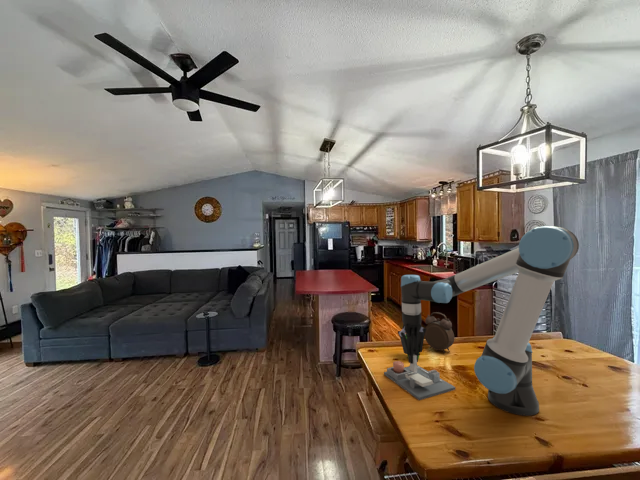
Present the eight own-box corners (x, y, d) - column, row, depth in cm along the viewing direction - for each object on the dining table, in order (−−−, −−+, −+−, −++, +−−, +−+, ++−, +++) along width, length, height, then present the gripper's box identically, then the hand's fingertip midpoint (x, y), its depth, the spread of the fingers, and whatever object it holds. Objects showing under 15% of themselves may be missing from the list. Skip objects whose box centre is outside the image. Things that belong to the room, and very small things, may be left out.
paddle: (432, 384, 110) (432, 380, 110) (422, 386, 108) (422, 383, 108) (415, 374, 119) (414, 371, 119) (405, 377, 117) (405, 373, 117)
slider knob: (439, 381, 116) (439, 371, 116) (434, 383, 115) (433, 373, 115) (434, 378, 119) (434, 368, 119) (428, 379, 117) (428, 370, 117)
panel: (455, 389, 112) (455, 378, 112) (419, 400, 105) (418, 388, 105) (416, 366, 132) (416, 357, 132) (384, 374, 125) (383, 364, 125)
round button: (406, 372, 121) (405, 364, 121) (397, 374, 119) (397, 366, 119) (399, 368, 125) (399, 360, 125) (391, 369, 123) (391, 362, 123)
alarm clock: (456, 352, 147) (455, 314, 147) (448, 356, 142) (448, 316, 142) (430, 344, 158) (430, 309, 158) (423, 348, 154) (422, 311, 154)
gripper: (417, 309, 123) (419, 363, 122) (392, 312, 118) (394, 370, 117) (430, 312, 116) (432, 371, 115) (404, 316, 111) (406, 377, 110)
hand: (413, 370), depth 116 cm, fingers closed
